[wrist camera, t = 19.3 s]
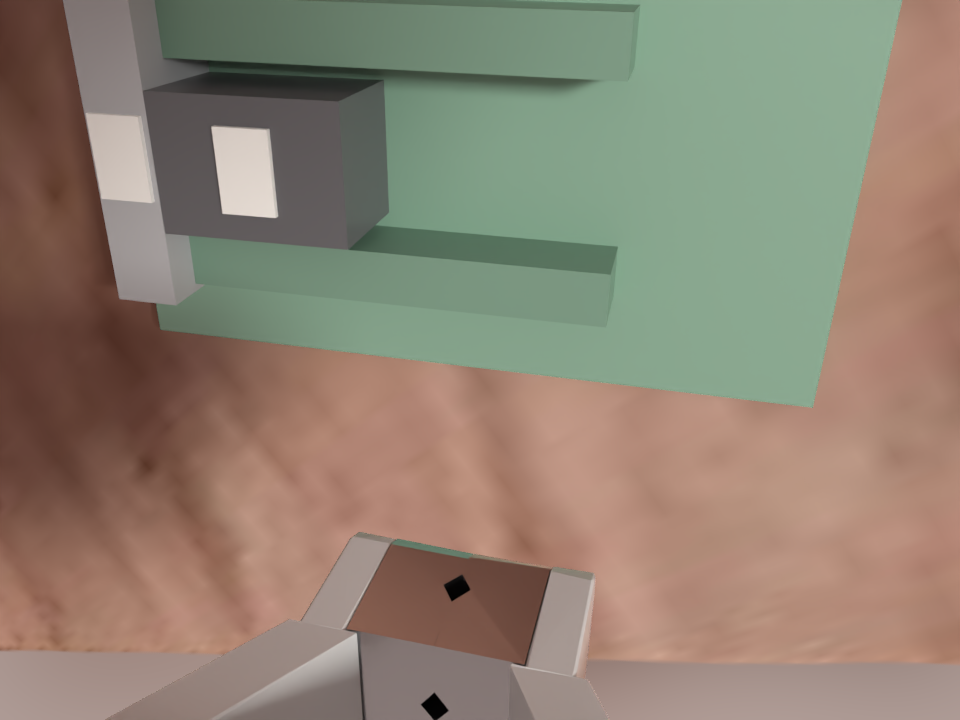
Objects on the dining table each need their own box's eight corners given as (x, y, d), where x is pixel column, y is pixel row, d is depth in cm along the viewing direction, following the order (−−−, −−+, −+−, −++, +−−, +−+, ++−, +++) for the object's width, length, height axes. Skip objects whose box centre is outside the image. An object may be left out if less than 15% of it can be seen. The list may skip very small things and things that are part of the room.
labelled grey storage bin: (384, 79, 31) (336, 102, 27) (388, 212, 34) (345, 251, 30) (209, 71, 33) (138, 91, 29) (225, 199, 35) (162, 235, 31)
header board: (922, -125, 26) (974, -138, 21) (809, 395, 34) (828, 474, 29) (99, -128, 31) (-14, -139, 26) (172, 320, 40) (96, 377, 35)
